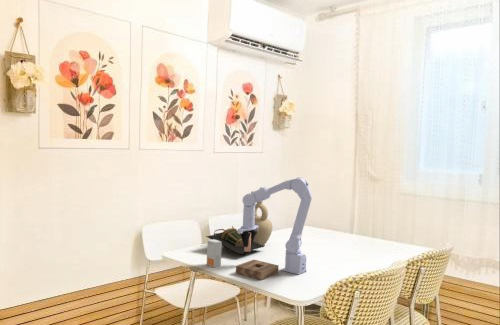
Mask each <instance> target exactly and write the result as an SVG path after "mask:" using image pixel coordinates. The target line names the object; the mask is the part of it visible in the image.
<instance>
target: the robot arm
mask: <svg viewBox="0 0 500 325" xmlns="http://www.w3.org/2000/svg"><path fill="white" fill-rule="evenodd" d="M283 190H288V191H291V190H292V191H293V192H294V193H296V194H297V196H298V197H299V198H300V202H299V207H298V209H297V211H296V212H297V213H296V216H295V219H294V223H293V227H292V229H291V230H292V231H291V233H290V236H289V239H288V240H287V241H286V243H285V257H284V258H285V262H284V267H283V268H281V271H283V272H286V273H291V274H294V275H301V274H303V273H305V272H307V256H306V254H305V253H302V250H301V247H302V236H303V230H304V228H305V225H306V224H305V223H306V220H307V217H308V213H309V209H310V207H311V203H312V200H313V196H312V193H311V190H310V186H309V183H308V181H307V180H306V179H305V178H304V177H296V178H292V179H288V180H285V181H283V182H280V183H277V184H275V185H273V186H271V187H269V188H268V187H265V186H261V187H259V189H256V190H252V191H251V192H250V193H246V194H245V195H244V196H243V197H242V204H243V209H242V212H243V214H242V225H241V226H240V228H238V229H237V230H238V233H239V234H240V236H241V238H242V241H243V246H244V247H248V242H249V237H250V235H251V246H252V243H253V240H254V237H255V235H256V234H257V231H255V230H256V229H257V230H258V228H259V226H258V225H254V224H255V204H257V203H258V202H261V201H266V200H268V199H270V198H271V195H274V194H276V193H278V192H281V191H283ZM248 232H251V233H248Z"/></svg>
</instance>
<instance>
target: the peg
mask: <svg viewBox="0 0 500 325" xmlns="http://www.w3.org/2000/svg"><path fill="white" fill-rule="evenodd" d="M248 233H251V232H248ZM244 251H246V252H247V253H248V252H251V251H252V250H251V235H250V237H249V242H248V247H245V249H244ZM246 252H245V253H246Z"/></svg>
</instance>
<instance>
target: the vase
mask: <svg viewBox="0 0 500 325" xmlns="http://www.w3.org/2000/svg"><path fill="white" fill-rule="evenodd" d="M263 201H264V200H263ZM263 201H261V202H258V203H255V224H254V225H258V226H259V228H258V230H257V229H256V230H255V231H257V234H256V235H255V237H254V240H253V242H256V243H258V244H260V245H262V246H264V245H265V244H266V243H267V242H268V241H269V239H270V237H271V235H272V232H273V222H272V221H271V219H269V218H268V216H269V211H268V208H267V207H266V205H265V204H263V203H264V202H263ZM258 209H260V212H261V215H258Z"/></svg>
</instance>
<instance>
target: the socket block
mask: <svg viewBox="0 0 500 325" xmlns="http://www.w3.org/2000/svg"><path fill="white" fill-rule="evenodd" d="M278 273H279V265H278V264H274V263H270V262H266V261H261V260H258V259H251V260H248V261H246V262H242V263H240V264H237V265H235V274H237V275H241V276H244V277H248V278H252V279H256V280H259V281H263V280H266V279H268V278H270V277H272V276H274V275H277V274H278Z"/></svg>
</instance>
